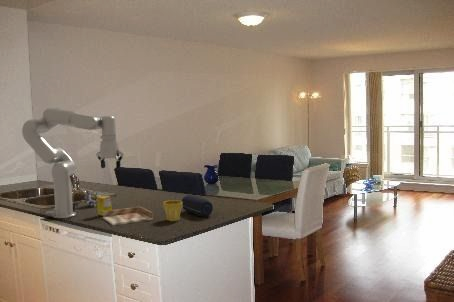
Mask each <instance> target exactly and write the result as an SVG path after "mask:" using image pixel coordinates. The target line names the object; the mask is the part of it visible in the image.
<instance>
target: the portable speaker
mask: <svg viewBox="0 0 454 302" xmlns="http://www.w3.org/2000/svg"><path fill="white" fill-rule="evenodd" d="M181 201H182V203H183V207H182V209H183V210H184V211H186V212H188V213H190V214H193V215H195V216H199V217H201V218H207V217H209V216H210V215H212V212H213V209H214V207H213V203H212V202H211V201H210V199H207V198H204V197H202V196H197V195H193V194H187V195H185V196H183V198H182V199H181Z"/></svg>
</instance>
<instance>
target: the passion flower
mask: <svg viewBox="0 0 454 302" xmlns="http://www.w3.org/2000/svg"><path fill="white" fill-rule="evenodd" d="M88 192H89V193H87V194H86V193H84V195H83V196H82V197H83V199H85V204H89V206H90V207H94V208H96V207H97V197H101V196H102V195H101V194H98V191H96V192H94V191H92V190H89V191H88Z"/></svg>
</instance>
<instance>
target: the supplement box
mask: <svg viewBox="0 0 454 302" xmlns="http://www.w3.org/2000/svg"><path fill="white" fill-rule="evenodd" d="M112 204H113V203H112V196H111V195H103V196H102V195H101V196H100V197H97V204H96V207H97V216H98V217H101V218H103V211H109V210H113V206H112Z"/></svg>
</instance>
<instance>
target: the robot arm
mask: <svg viewBox="0 0 454 302" xmlns="http://www.w3.org/2000/svg"><path fill="white" fill-rule="evenodd" d="M57 125H61V126H65V127H71V128H77V129H83V130H90V131H93V130H94V131H97V130H101V135H100V139H101V141H100V146H99V147H100V148H99V152H97V153H96V156H97V160H99V162H100V168H101V169H106V161H105V160H106V159H115V167H116V169H120V168H121V166H122V165H121V164H122V163H121V161H122V159H123V158H124V155H125V153H124V152H123V151H121V150H120V147H119V142H118V140H117V136H116V135H117V133H116V118H115V116H112V115H105V116H97V115H94V116H93V115H92V116H91V115H90V116H89V115H85V114H84V115H83V114H78V113H76V112H74V111H72V110H71V111H70V110H65V109H60V108H58V107H57V108H56V107H48V108H46V109H45V110H44V111H43V112H42V117H41V118H32V119H28V120H26V121H24V123H23V125H22V129H21V133H22V136H23V137H22V138H23V139H24V141H25V142H26V143H27V145H28V146H30V148H31V149H32V150H33V151H34V152H35V153H36V155H37V156H38V157H39V158H40V159H41V161H42V162H43V163H45V164H47V165H50V164H51V165H52V164H54V165H52V167H51V177H52V181H53V193H54V208H53V209H52V210H47V211H46V215H52V218H54V219H66V218H67V219H68V218H72V217H75V216H76V215H77V212H76V211H74V209H73V207H74V206H73V204H74V203H73V190H72V189H73V187H72V181H71V180H72V179H71V176H73V175H74V174H75V173H76V171H77V165H76V163H75V161H74V160H73V159H72V158H71V156H69V155H68V154H67V153H66V151H65V150H64V149H63V148H61V147H60V146H52V145H51V144H50V143H49V142H48V141H47V140H46V139H45V138H44V137H43V136H41V134H44V133H47V132H49V131H50V130H51V129H53V128H55V127H56V126H57Z"/></svg>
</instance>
